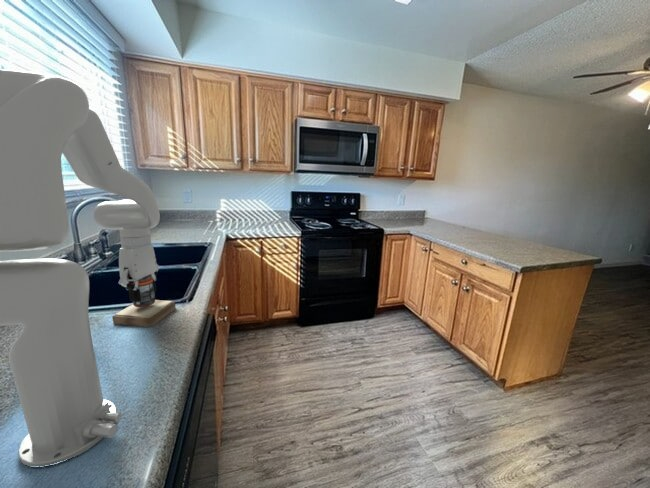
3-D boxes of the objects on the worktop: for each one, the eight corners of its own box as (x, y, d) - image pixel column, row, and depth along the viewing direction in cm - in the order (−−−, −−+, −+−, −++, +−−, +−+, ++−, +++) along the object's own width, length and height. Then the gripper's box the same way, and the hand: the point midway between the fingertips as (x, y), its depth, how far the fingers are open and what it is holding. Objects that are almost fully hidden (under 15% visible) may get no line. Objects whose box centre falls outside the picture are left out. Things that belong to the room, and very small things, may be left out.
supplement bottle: (134, 301, 89) (129, 268, 86) (156, 298, 91) (152, 266, 89) (131, 309, 83) (126, 274, 81) (154, 306, 86) (150, 271, 84)
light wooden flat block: (175, 308, 94) (174, 300, 93) (150, 327, 82) (149, 317, 82) (142, 306, 95) (141, 298, 94) (113, 324, 83) (112, 314, 83)
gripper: (145, 235, 91) (151, 285, 95) (99, 247, 75) (109, 308, 79) (166, 236, 91) (172, 287, 95) (125, 248, 74) (133, 310, 78)
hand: (143, 296), depth 87 cm, fingers closed on supplement bottle, 6 cm apart
